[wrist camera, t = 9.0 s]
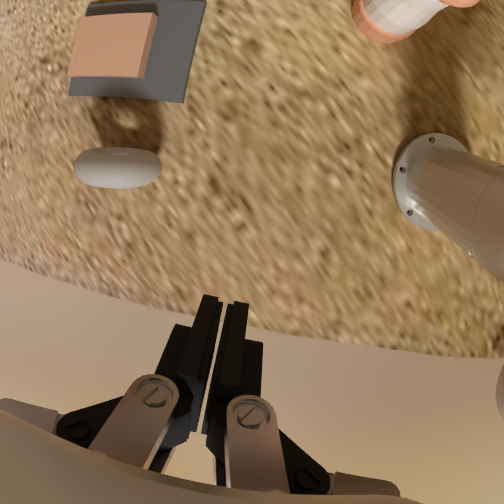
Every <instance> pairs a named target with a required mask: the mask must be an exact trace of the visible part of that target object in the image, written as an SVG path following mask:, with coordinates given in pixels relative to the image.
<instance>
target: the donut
mask: <svg viewBox="0 0 504 504" xmlns="http://www.w3.org/2000/svg"><path fill="white" fill-rule="evenodd" d="M161 170H162V163H161V161H160V159H159V158H158V156H157V155H156V154H155V153H153V152H151V151H148V150H144V149H138V148H129V147H100V148H92V149H88V150H85V151H83V152H82V153H81V154H80V155H79V156H78V157H77V158H76V160H75V162H74V172H75V174H76V176H77V177H78V179H79V180H80V181H81V182H83V183H86V184H88V185H91V186H95V187H101V188H135V187H140V186H144V185H147V184H149V183H152V182H153V181H155V180H156V179H157V178H158V176H159V175H160V173H161Z"/></svg>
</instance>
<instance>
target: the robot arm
mask: <svg viewBox="0 0 504 504" xmlns="http://www.w3.org/2000/svg"><path fill="white" fill-rule="evenodd" d="M429 138H430V141H429ZM401 167H402V170H400V168H401ZM393 193H394V198H395V201H396V203H397V206H398V208H399V209H400V211H401V213H402V214H403V215H404V216H405V217H406V218H407V219H408V220H409V221H410V222H411V223H412V224H414V225H416V226H417V227H419V228H422V229H425V230H433V231H435V230H440V231H442V232H443V233H444V234H445V235H446V236H448V237H449V238H450V239H451V240H452V241H454V242H455V243H456V244H457V245H458V246H460V247H461V248H462V249H463V250H464V251H465V252H466V253H468V254H469V255H470V256H471V257H472V258H473V259H474V260H475V261H477V262H478V263H479V264H480V265H481V266H482V267H483V268H484V269H486V270H487V271H488V272H489V273H490V274H491V275H493V276H494V277H496V278H497V279H499V280H501V281H504V164H501V163H498V162H495V161H492V160H489V159H486V158H483V157H480V156H476V155H473V154H470V153H469V152H468V151H467V149H466V148H465V147H464V146H463V145H462V144H461V143H460V142H459V141H458V140H457V139H455V138H453V137H452V136H449V135H446V134H442V133H426V134H423V135H420V136H418V137H416V138H414V139H413V140H412V141H411V142H409V143H408V144H407V145H406V147H405V148H404V149H403V150H402V151H401V153H400V155H399V157H398V159H397V161H396V164H395V167H394V172H393ZM408 210H409V211H408ZM407 211H408V212H407ZM222 307H223V302H219V301H218V297H214V296H210V295H205V294H204V295H203V297H202V300H201V303H200V306H199V309H198V312H197V314H196V317H195V320H194V323H193V326H192V328H191V327H187V326H183V325H179V324H175V326H174V328H173V330H172V333H171V335H170V337H169V340H168V342H167V345H166V347H165V349H164V352H163V354H162V357H161V359H160V361H159V364H158V366H157V369H156V371H155V374H148V375H144V376H141V377H139V378H137V379H136V380H135V381H134V382H133V383H132V385H131V386H130V387H129V389H128V390H127V392H126V393H125V395H124V396H121V397H118V398H115V399H112V400H109V401H106V402H102V403H99V404H96V405H93V406H90V407H86V408H83V409H80V410H76V411H73V412H70V413H68V414H65V415H62V414H59V413H58V411H56V410H52V409H47V408H43V407H39V406H35V405H31V404H27V403H24V402H20V401H16V400H13V399H7V398H4V399H1V400H0V504H422V503H419V502H417V501H414V500H410V499H407V498H402V497H400V491H399V490H398V488H397V486H396V485H394V484H393V483H392V482H389V481H386V480H380V479H373V478H366V477H361V476H356V475H351V474H346V473H341V472H335V473H334V474H333V473H328V472H327V471H326V470H325V469H324V468H323V467H322V466H321V465H320V464H318V463H317V462H316V461H315V460H314V459H312V458H311V457H310V456H309V455H308V454H306V453H305V452H304V451H303V450H302V449H301V448H300V447H299V446H297V445H296V444H295V443H294V442H293V441H292V440H291V439H290V438H288V437H287V436H286V435H285V434H284V433H283V432H282V431H281V430H280V429H278V424H277V418H276V414H275V411H274V408H273V407H272V406H271V405H270V403H268V402H267V401H266V400H264V399H262V398H260V397H261V378H262V357H263V343H262V342H258V341H253V340H247V339H245V333H246V325H247V317H248V309H249V304H247V303H242V302H238V301H234V305H233V304H228V305H227V310H226V314H225V319H224V323H223V328H222V332H221V337H220V341H219V346H218V351H217V355H216V360H215V364H214V369H213V374H212V379H211V383H210V389H209V394H208V399H207V405H206V410H205V415H204V421H203V426H202V431H201V433H202V434H206V435H207V439H206V446H207V448H208V449H209V450H210V451H211V452H212V453H213V454H214V458H213V464H214V485H210V484H205V483H200V482H194V481H190V480H185V479H181V478H177V477H172V476H168V475H164V472H165V470H166V468H167V466H168V463H169V461H170V459H171V457H172V455H173V453H174V451H175V447H176V446H177V445H179V444H182V443H184V442H186V441H187V439H188V438H189V434H190V431H192V432H196V430H197V425H198V422H199V417H200V412H201V407H202V403H203V399H204V395H205V390H206V385H207V381H208V377H209V372H210V368H211V364H212V359H213V354H214V348H215V343H216V338H217V333H218V327H219V322H220V317H221V312H222ZM496 402H497V407H498V410H499V412H500V414H501V416H502V418H503V419H504V365H503V367H502V369H501V372H500V375H499V377H498V382H497V387H496Z"/></svg>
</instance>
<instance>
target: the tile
mask: <svg viewBox="0 0 504 504" xmlns="http://www.w3.org/2000/svg"><path fill="white" fill-rule="evenodd" d="M157 21H158V16H156V15H155V14H154V13H123V14H108V15H97V16H88V17H81V18H80V22H79V25H78V29H77V33H76V37H75V41H74V46H73V50H72V55H71V60H70V65H69V70H68V76H67V77H122V78H143V79H144V77H145V72H146V67H147V62H148V58H149V53H150V49H151V45H152V41H153V36H154V33H155V29H156V25H157Z"/></svg>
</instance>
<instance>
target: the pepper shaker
mask: <svg viewBox="0 0 504 504" xmlns="http://www.w3.org/2000/svg"><path fill="white" fill-rule="evenodd" d="M479 1H480V0H355V1H354V3H353V6H352V15H353V19H354V21H355V23H356V25H357V27H358V28H359V29H360V30H361V31H362V33H363V34H365V35H366V36H368V37H369V38H370V39H372V40H375V41H377V42H380V43H387V44H391V43H395V42H398V41H400V40H402V39H404V38H406V37H408V36H410V35H411V34H413V33H414V32H415V31H416V29H417V28H420V27H421V26H423V25H425V24H426V23H427V22H428V21H429V20H430V19H431V18H432V17H433V16H434V15H435V14H436V13H437V12H438V11H440V10H442V9H443V8H445V7H447V6H449V5H451V6H454V7H472V6H473V5H475V4H477V3H478V2H479Z"/></svg>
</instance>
